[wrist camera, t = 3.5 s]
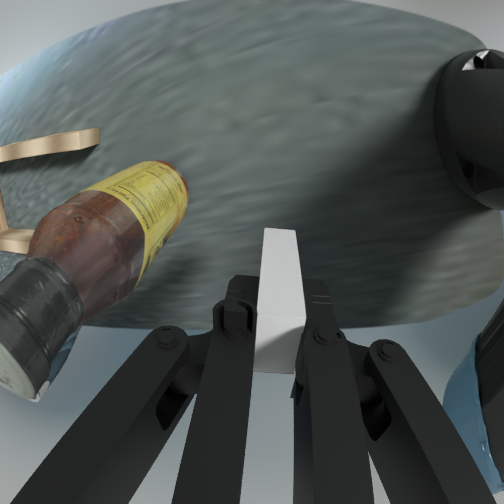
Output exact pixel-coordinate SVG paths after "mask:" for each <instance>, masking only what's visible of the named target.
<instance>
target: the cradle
mask: <svg viewBox="0 0 504 504" xmlns="http://www.w3.org/2000/svg"><path fill="white" fill-rule="evenodd" d="M96 144H99V130H98V128H91V129H84V130H78V131H71V132H65V133H59V134H54V135H49V136H44V137H39V138H34V139H30V140H25V141H21V142H17V143H13V144H9V145H5V146H1V147H0V162H3V161H8V160H13V159H19V158H24V157H30V156H36V155H42V154H49V153H56V152H64V151H72V150H80V149H83V148H87V147H90V146H93V145H96ZM34 231H35V230H27V229H11V228H8V225H7V221H6V216H5V212H4V207H3V202H2V196H1V191H0V250H3V251H9V252H16V253H23V254H27V252H28V250H29V243H30V240H31V237H32V236H33V233H34Z"/></svg>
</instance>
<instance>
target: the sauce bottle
mask: <svg viewBox="0 0 504 504" xmlns="http://www.w3.org/2000/svg"><path fill="white" fill-rule="evenodd" d="M188 195H189V194H188V185H187V182H186V180H185V179H184V177H183V176H182V174H181V173H180V172H179V171H178V170H177V169H176V168H175V167H173V166H172V165H171V164H170V163H168V162H165V161H145V162H141V163H137V164H135V165H133V166H131V167H129V168H127V169H125V170H123V171H120V172H118V173H116V174H114V175H112V176H110V177H108V178H106V179H104V180H102V181H100V182H98V183H96V184H94V185H92V186H90V187H88V188H87V189H85V190H83V191H81V192H79V193H78V194H76V195H74V196H73V197H71V198H70V199H69V200H68V201H67V202H66V203H65V204H63V205H61V206H58V207H56V208H54V209H53V210H52V211H50V212H49V213H48V214H47V215H46V216H45V217H43V218H42V219H41V221H40V222H39V224H38V226H37V227H36V229H35V231H34V233H33V236H32V237H31V240H30V243H29V250H28V252H27V255H26V259H24V260H23V261H21V262H19V263H17V264H16V266H15V267H14V270H13V271H12V272H11V273H10V274H9V275H7V276H6V277H5V278H4V279H3V280H2V281H1V282H0V385H1V386H3V387H4V388H5V389H7V390H9V391H11V392H12V393H13V394H15V395H16V396H19V397H21V398H23V399H27V400H29V399H33V398H34V397H35V396H36V395H37V393H38V392H39V390H40V389H41V387H42V386H43V384H44V383H45V381H46V380H47V379H48V377H49V373H50V370H51V363H52V361H53V360H54V358H55V357H56V355H57V354H58V352H59V351H60V350H61V348H62V346H63V345H64V343H65V342H66V340H67V339H68V338H69V336H70V335H72V334H73V333H75V332H76V330H77V328H78V327H79V326H80V325H81V324H83V323H85V322H86V321H88V320H89V319H91V318H93V317H95V316H97V315H99V314H101V313H103V312H105V311H106V310H108V309H110V308H112V307H114V306H116V305H118V304H120V303H121V302H123V301H124V300H125V299H127V297H128V296H129V295H130V294H131V293H132V291H133V290H134V288H135V287H136V285H137V284H138V282H139V281H140V280H141V278H142V276H143V275H144V273H145V272H146V270H147V269H148V267H149V266H150V264H151V263H152V261H153V260H154V258H155V257H156V255H157V254H158V253H159V251H160V250H161V249H162V247H163V246H164V244H165V243H166V241H167V240H168V239H169V237H170V236H171V234H172V233H173V232H174V230H175V229H176V227H177V226H178V225H179V223H180V222H181V220H182V219H183V217H184V215H185V212H186V210H187V205H188V199H189V196H188Z"/></svg>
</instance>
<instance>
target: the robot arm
mask: <svg viewBox="0 0 504 504" xmlns="http://www.w3.org/2000/svg"><path fill="white" fill-rule="evenodd" d="M435 128H436V135H437V141H438V145H439V149H440V152H441V155H442V158H443V161H444V163H445V165H446V168H447V170H448V172H449V173H450V175H451V177H452V178H453V180H454V181H455V183H456V184H457V185H458V186H459V187H460V188H461V189H462V190H463V191H464V192H465V193H466V194H467V195H469V196H470V197H472V198H473V199H475V200H477V201H478V202H480V203H481V204H483V205H485V206H487V207H490V208H493V209H496V210H504V52H501V51H498V50H493V49H480V50H473V51H468V52H465V53H462V54H460V55H459V56H457V57H456V58H455V59H453V60H452V61H451V62H450V64H449V65H448V66H447V68H446V69H445V71H444V73H443V75H442V77H441V79H440V82H439V85H438V89H437V94H436V100H435ZM331 303H332V302H331V298H330V294H329V290H328V287H327V286H326V285H325V284H324V283H323V282H322V281H321V280H307V279H302V277H301V269H300V262H299V254H298V247H297V240H296V233H295V230H286V229H273V228H265V230H264V241H263V252H262V262H261V272H260V277H256V276H244V275H236V276H234V277H233V278H232V279H231V280H230V281H229V285H228V289H227V293H226V297H225V300H221V301H220V302H218V303H217V304H216V305H215V306H214V308H213V330H211V331H210V332H207V333H205V334H200V335H194V336H188V335H187V334H186V333H185V331H184V330H182V329H180V328H178V327H174V326H162V327H159V328H157V329H154V330H153V331H152V332H151V333H149V335H148V336H147V337H146V338H145V339H144V340H143V341H142V343H141V344H140V345H139V346H138V347H137V349H136V350H135V351H134V352H133V353H132V354H131V356H130V357H129V358H128V359H127V360H126V361H125V362H124V364H123V365H122V366H121V367H120V368H119V369H118V371H117V372H116V373H115V374H114V375H113V377H112V378H111V379H110V380H109V381H108V382H107V384H106V385H105V386H104V387H103V388H102V390H101V391H100V392H99V393H98V394H97V396H96V397H95V398H94V399H93V400H92V401H91V403H90V404H89V405H88V406H87V408H86V409H85V410H84V411H83V412H82V414H81V415H80V416H79V417H78V418H77V420H76V421H75V422H74V423H73V425H72V426H71V427H70V428H69V430H68V431H67V432H66V433H65V435H64V436H63V437H62V438H61V439H60V440H59V442H58V443H57V444H56V446H55V447H54V448H53V449H52V450H51V452H50V453H49V454H48V456H47V457H46V458H45V459H44V460H43V462H42V463H41V464H40V466H39V467H38V468H37V469H36V471H35V472H34V473H33V475H32V476H31V477H30V478H29V480H28V481H27V482H26V483H25V485H24V486H23V487H22V489H21V490H20V491H19V493H18V494H17V495H16V497H15V498H14V499H13V501H12V502H11V503H10V504H128V503H129V501H130V500H131V498H132V496H133V495H134V494H135V492H136V490H137V489H138V487H139V486H140V484H141V482H142V481H143V479H144V478H145V476H146V474H147V473H148V471H149V470H150V468H151V466H152V465H153V463H154V461H155V460H156V458H157V457H158V455H159V453H160V452H161V450H162V449H163V447H164V445H165V443H166V442H167V440H168V439H169V437H170V435H171V434H172V432H173V430H174V429H175V427H176V425H177V424H178V422H179V420H180V419H181V417H182V415H183V414H184V412H185V410H186V409H187V407H188V405H189V404H190V402H191V400H192V399H193V397H194V395H195V394H197V397H196V401H195V405H194V409H193V413H192V418H191V422H190V426H189V430H188V434H187V438H186V443H185V447H184V451H183V455H182V460H181V464H180V468H179V473H178V477H177V481H176V485H175V490H174V494H173V499H172V503H171V504H240V495H241V486H242V476H243V466H244V457H245V447H246V437H247V427H248V418H249V408H250V398H251V388H252V375H253V371H254V372H266V373H282V374H294V369H295V371H296V377H295V381H294V385H293V389H292V393H291V398H293V397H294V485H293V486H294V487H293V504H374V495H373V486H372V478H371V470H370V463H369V455H368V452H369V454H370V456H371V459H372V461H373V463H374V466H375V468H376V470H377V473H378V475H379V477H380V480H381V482H382V484H383V487H384V489H385V491H386V494H387V496H388V499H389V501H390V503H391V504H496V501H495V499H494V497H493V495H492V494H496V493H498V492H500V491H504V299H503V301H502V303H501V304H500V306H499V308H498V309H497V311H496V312H495V314H494V315H493V317H492V318H491V320H490V321H489V323H488V324H487V326H486V327H485V329H484V330H483V331H482V333H480V334H478V335H477V336H476V337H475V338H474V340H473V343H472V346H471V348H470V350H469V351H468V353H467V354H466V356H465V357H464V359H463V360H462V361H461V363H460V364H459V365H458V367H457V368H456V369H455V371H454V372H453V374H452V375H451V377H450V379H449V381H448V383H447V386H446V390H445V394H444V398H443V406H442V405H441V404H440V402H439V401H438V399H437V398H436V396H435V394H434V393H433V391H432V390H431V388H430V387H429V385H428V384H427V382H426V381H425V379H424V378H423V376H422V375H421V373H420V372H419V370H418V369H417V367H416V366H415V364H414V363H413V361H412V360H411V358H410V357H409V356H408V354H407V353H406V351H405V350H404V349H403V348H402V347H401V346H400V345H399V344H398V343H396V342H394V341H391V340H387V339H383V340H377V341H375V342H373V343H372V344H371V346H370V347H369V348H368V347H365V346H361V345H357V344H354V343H351V342H349V341H347V340H346V337H345V335H344V333H343V332H342V331H341V330H340V329H338V328H337V324H336V320H335V315H334V311H333V307H332V304H331Z"/></svg>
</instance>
